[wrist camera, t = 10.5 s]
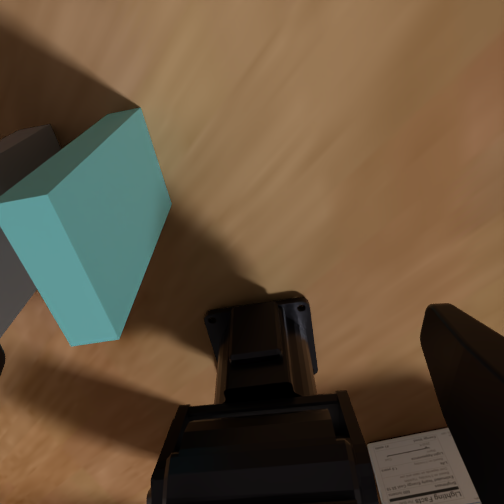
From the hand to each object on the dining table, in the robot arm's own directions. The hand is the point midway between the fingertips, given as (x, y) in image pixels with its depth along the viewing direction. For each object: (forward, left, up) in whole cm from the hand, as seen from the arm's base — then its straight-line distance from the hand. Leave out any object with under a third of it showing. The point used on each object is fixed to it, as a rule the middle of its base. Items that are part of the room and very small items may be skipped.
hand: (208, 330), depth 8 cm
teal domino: (0, +5, -13) cm, 14 cm away
